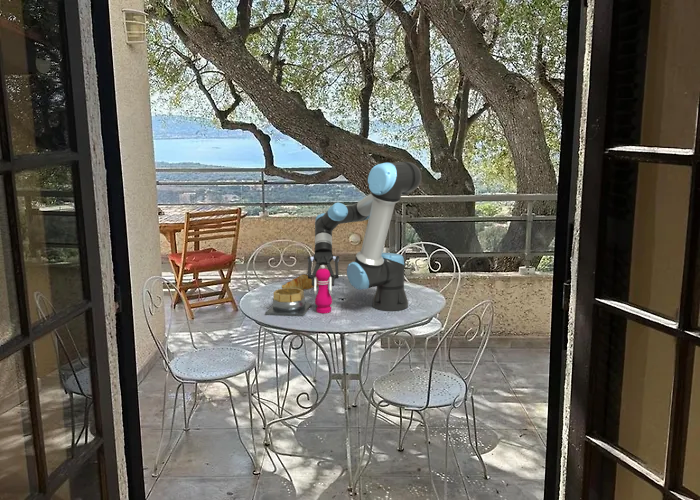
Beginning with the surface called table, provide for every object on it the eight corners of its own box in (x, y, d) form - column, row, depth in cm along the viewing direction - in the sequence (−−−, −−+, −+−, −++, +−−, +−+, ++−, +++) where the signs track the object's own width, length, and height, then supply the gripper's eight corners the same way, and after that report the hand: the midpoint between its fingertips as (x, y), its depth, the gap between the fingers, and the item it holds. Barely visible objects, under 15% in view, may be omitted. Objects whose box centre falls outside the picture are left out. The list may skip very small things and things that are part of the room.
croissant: (284, 299, 293) (287, 286, 289) (277, 285, 300) (279, 273, 296) (324, 292, 303) (327, 279, 299) (316, 279, 310) (319, 266, 306)
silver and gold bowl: (311, 305, 269) (311, 287, 267) (303, 316, 253) (302, 297, 252) (276, 304, 271) (275, 286, 270) (265, 315, 256) (264, 295, 254)
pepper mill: (330, 314, 256) (329, 267, 252) (313, 313, 257) (312, 266, 253) (334, 309, 263) (333, 263, 259) (317, 308, 264) (316, 262, 260)
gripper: (345, 250, 271) (345, 296, 258) (302, 251, 271) (301, 297, 258) (344, 240, 265) (345, 287, 251) (301, 241, 264) (299, 287, 251)
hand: (323, 292), depth 255 cm, fingers closed on pepper mill, 6 cm apart
